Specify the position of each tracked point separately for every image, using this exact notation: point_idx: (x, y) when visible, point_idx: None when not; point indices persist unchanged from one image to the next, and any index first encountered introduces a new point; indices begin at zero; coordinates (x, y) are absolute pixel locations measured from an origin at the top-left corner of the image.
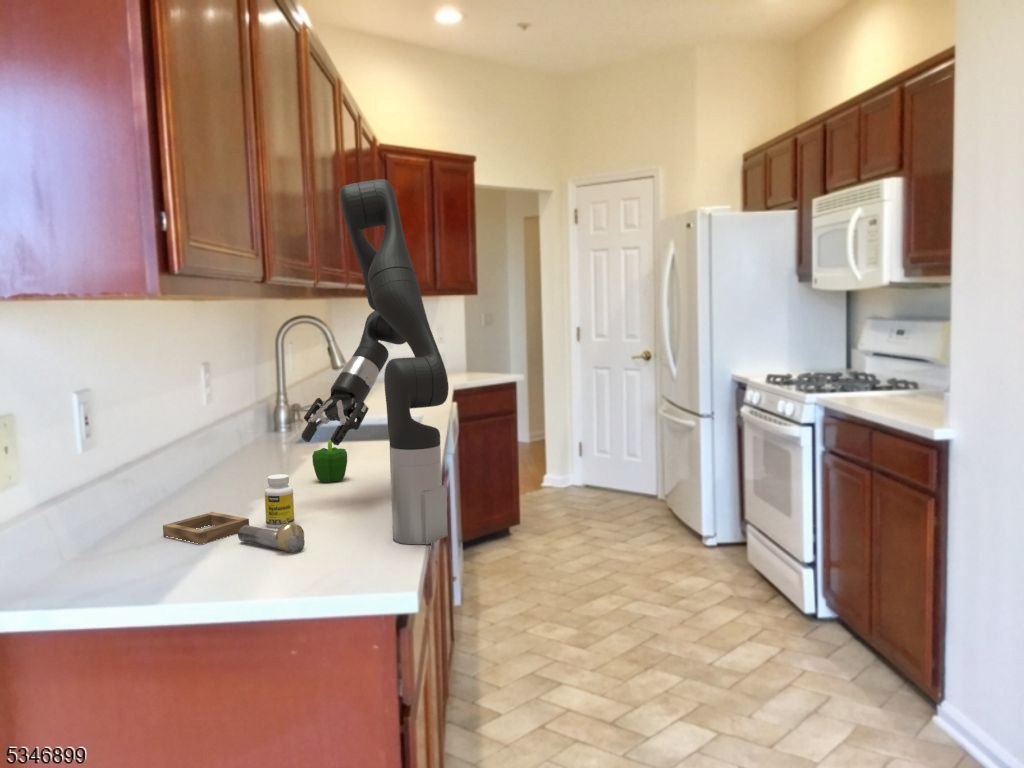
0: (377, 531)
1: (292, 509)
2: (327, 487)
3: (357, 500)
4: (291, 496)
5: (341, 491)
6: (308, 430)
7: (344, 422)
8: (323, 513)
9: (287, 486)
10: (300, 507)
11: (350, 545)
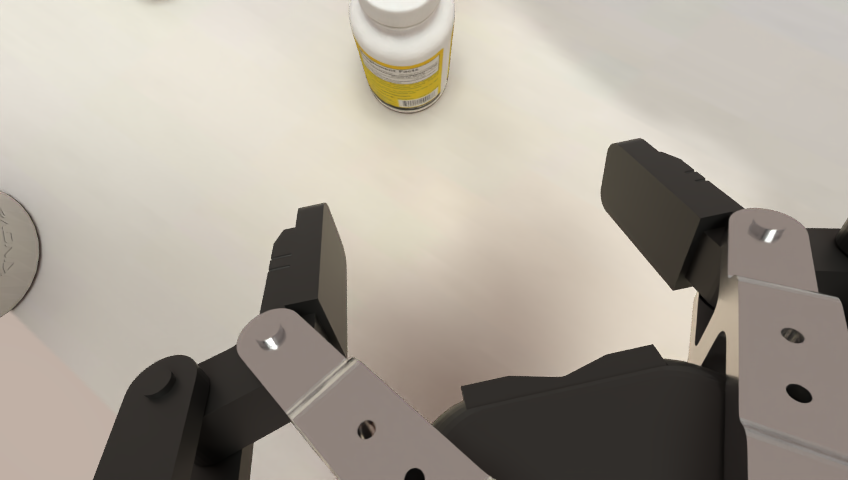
0: (117, 219)
1: (368, 75)
2: None
3: None
4: (359, 48)
5: None
6: (647, 185)
7: (246, 341)
8: (420, 229)
9: (368, 19)
10: (546, 223)
11: (71, 92)
